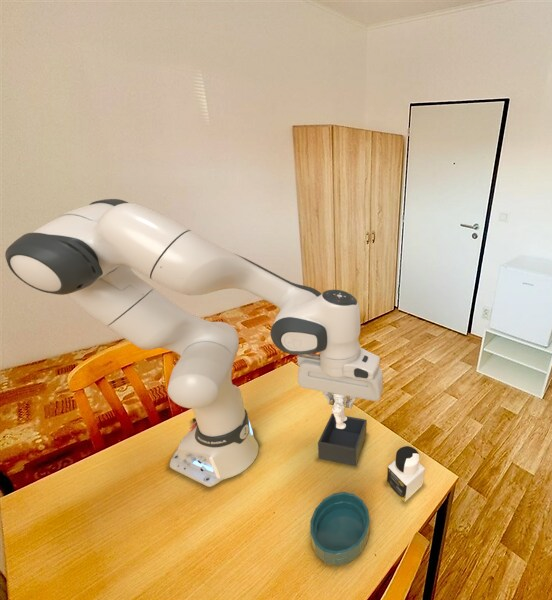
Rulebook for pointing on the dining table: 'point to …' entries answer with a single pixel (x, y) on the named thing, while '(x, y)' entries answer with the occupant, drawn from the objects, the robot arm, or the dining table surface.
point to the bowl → (339, 528)
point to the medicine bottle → (405, 473)
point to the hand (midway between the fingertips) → (340, 404)
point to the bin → (342, 441)
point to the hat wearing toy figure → (339, 410)
